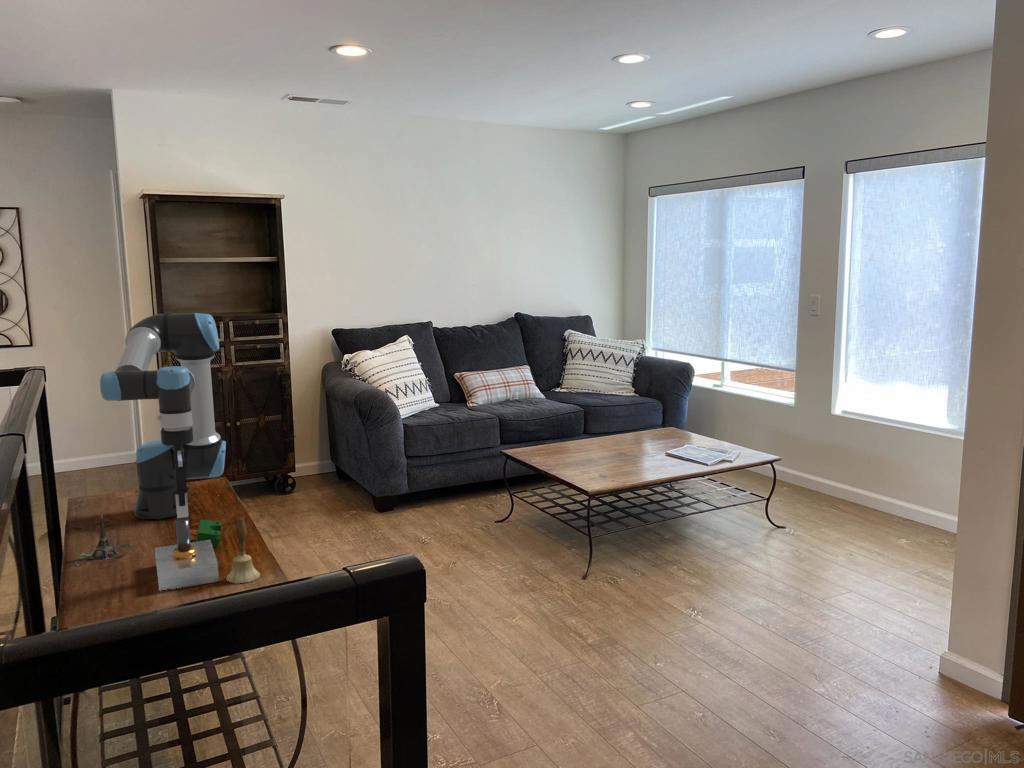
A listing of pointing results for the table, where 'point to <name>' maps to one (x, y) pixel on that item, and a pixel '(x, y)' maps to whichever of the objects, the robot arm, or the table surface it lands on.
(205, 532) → the clamp
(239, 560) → the hand bell
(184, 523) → the pin
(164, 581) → the hole block
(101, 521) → the eiffel tower figurine
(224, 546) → the table surface
